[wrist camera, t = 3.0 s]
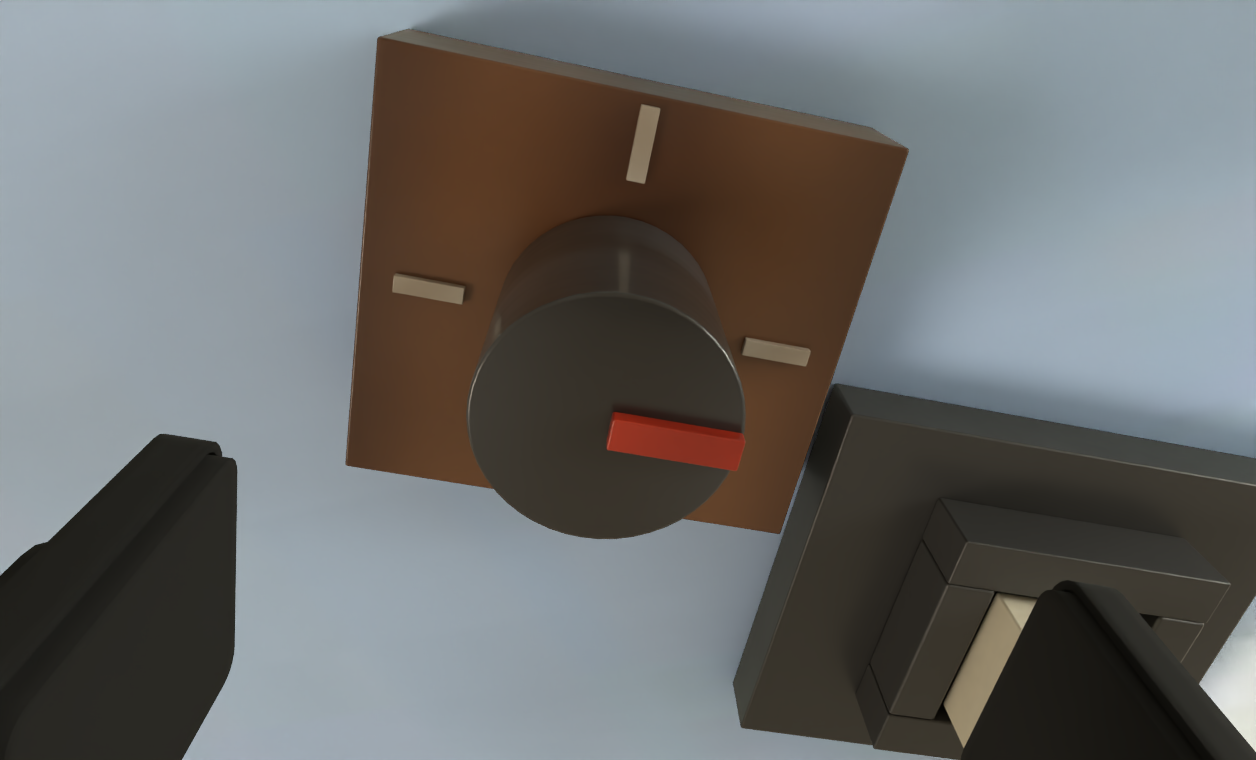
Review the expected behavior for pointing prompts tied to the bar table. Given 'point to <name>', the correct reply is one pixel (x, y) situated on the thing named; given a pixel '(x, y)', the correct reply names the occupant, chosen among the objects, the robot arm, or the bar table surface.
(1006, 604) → the key
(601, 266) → the dial
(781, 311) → the control panel
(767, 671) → the square rocker plate
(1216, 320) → the bar table surface
